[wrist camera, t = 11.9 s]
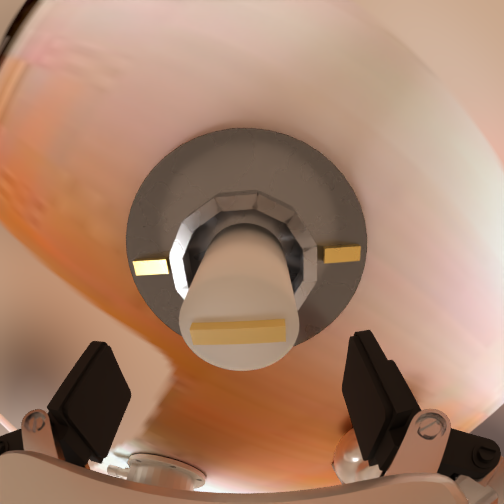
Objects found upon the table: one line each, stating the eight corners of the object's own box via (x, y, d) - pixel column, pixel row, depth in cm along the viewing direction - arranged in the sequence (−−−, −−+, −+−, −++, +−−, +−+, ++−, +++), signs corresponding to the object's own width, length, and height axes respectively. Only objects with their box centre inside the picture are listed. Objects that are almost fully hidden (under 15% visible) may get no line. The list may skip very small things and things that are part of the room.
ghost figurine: (413, 400, 25) (441, 465, 16) (374, 442, 29) (390, 500, 19) (350, 401, 25) (372, 482, 15) (315, 444, 28) (324, 512, 19)
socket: (159, 347, 22) (151, 367, 20) (115, 149, 16) (96, 151, 14) (352, 337, 21) (360, 357, 19) (361, 126, 15) (377, 124, 13)
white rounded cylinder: (201, 226, 17) (163, 284, 10) (283, 220, 17) (301, 276, 10) (212, 297, 19) (190, 378, 12) (286, 293, 19) (299, 375, 12)
